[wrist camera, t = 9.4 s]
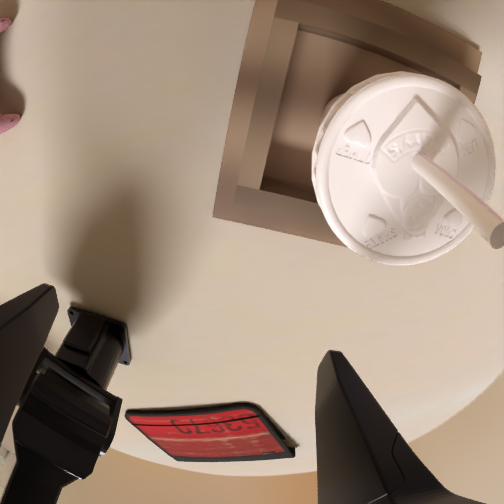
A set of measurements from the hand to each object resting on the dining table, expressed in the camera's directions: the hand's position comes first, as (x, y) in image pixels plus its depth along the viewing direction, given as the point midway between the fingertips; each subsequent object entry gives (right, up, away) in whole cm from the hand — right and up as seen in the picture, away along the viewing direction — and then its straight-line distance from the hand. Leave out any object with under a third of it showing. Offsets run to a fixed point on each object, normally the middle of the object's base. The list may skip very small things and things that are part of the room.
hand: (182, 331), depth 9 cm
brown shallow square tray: (+8, +10, +8) cm, 15 cm away
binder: (-4, -23, +31) cm, 39 cm away
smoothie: (+8, +10, +7) cm, 15 cm away
